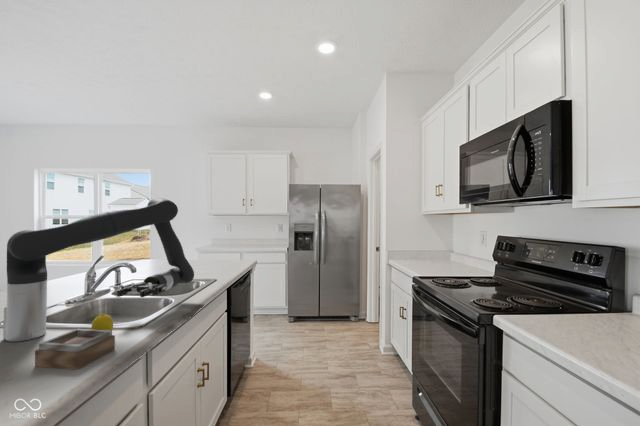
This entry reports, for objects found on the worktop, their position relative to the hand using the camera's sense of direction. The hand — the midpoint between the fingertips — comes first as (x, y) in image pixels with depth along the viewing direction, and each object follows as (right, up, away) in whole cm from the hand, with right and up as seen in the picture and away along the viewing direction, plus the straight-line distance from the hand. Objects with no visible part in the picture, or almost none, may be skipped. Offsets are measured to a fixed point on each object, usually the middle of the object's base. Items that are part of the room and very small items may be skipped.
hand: (129, 294), depth 109 cm
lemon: (-2, -11, -11) cm, 16 cm away
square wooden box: (0, -11, -24) cm, 26 cm away
